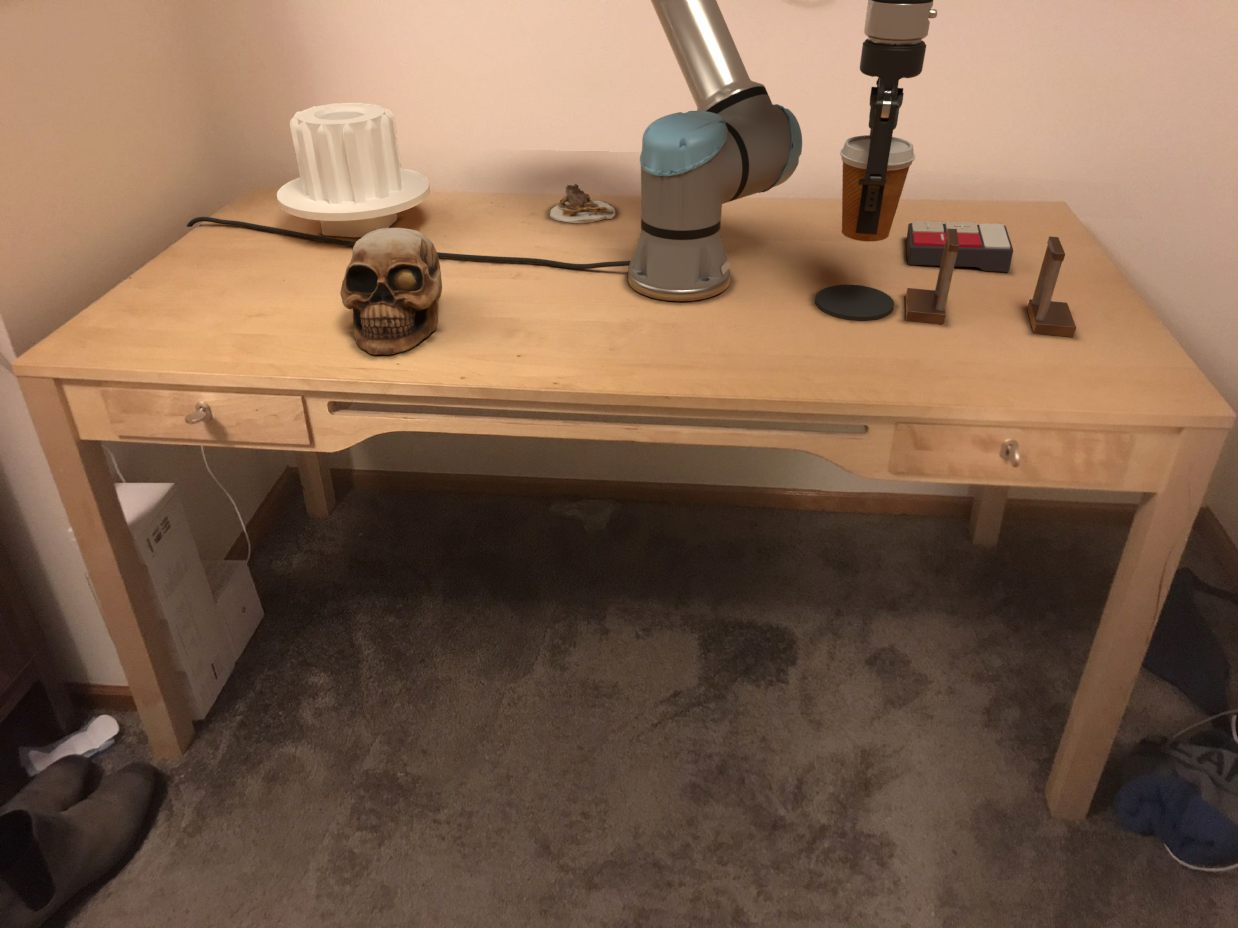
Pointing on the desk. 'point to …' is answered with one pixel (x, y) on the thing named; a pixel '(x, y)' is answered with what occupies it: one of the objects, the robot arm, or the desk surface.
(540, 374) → the desk surface
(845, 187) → the disposable coffee cup
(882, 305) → the coaster
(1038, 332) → the bookends
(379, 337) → the brown skull
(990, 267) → the calculator
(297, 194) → the ribbed cylinder on disc
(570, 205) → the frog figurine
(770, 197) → the desk surface
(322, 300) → the desk surface
